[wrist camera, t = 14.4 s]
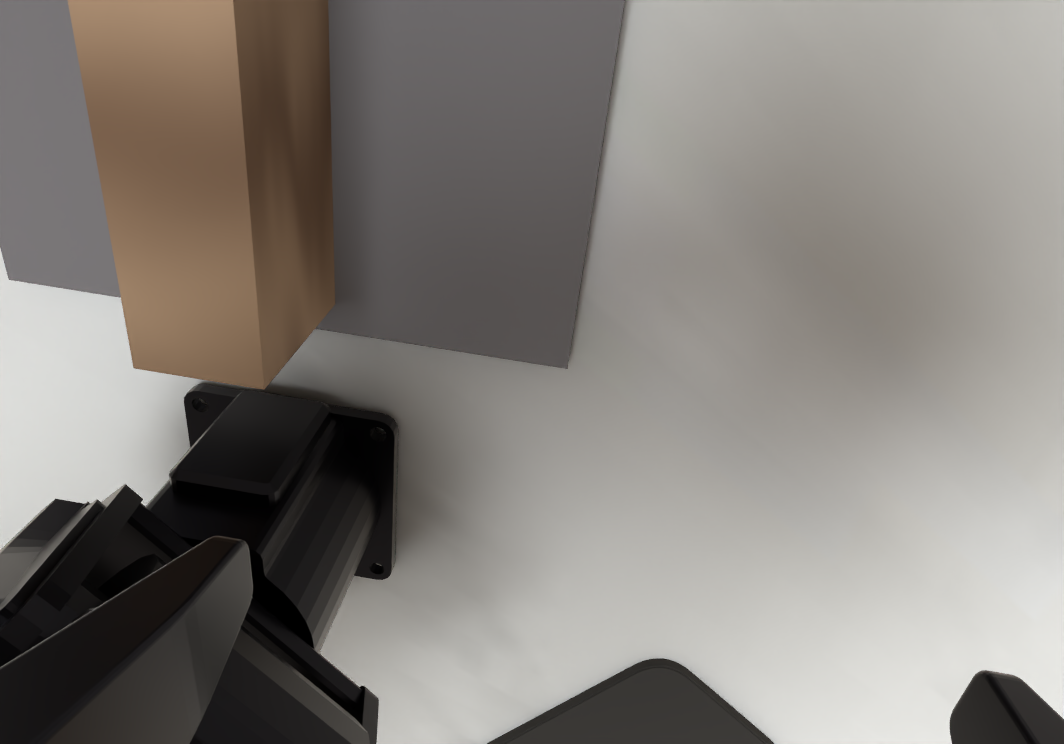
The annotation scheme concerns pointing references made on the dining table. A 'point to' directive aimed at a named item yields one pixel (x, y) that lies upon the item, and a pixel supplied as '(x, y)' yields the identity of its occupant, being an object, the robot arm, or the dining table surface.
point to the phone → (641, 713)
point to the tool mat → (373, 166)
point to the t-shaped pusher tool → (213, 176)
